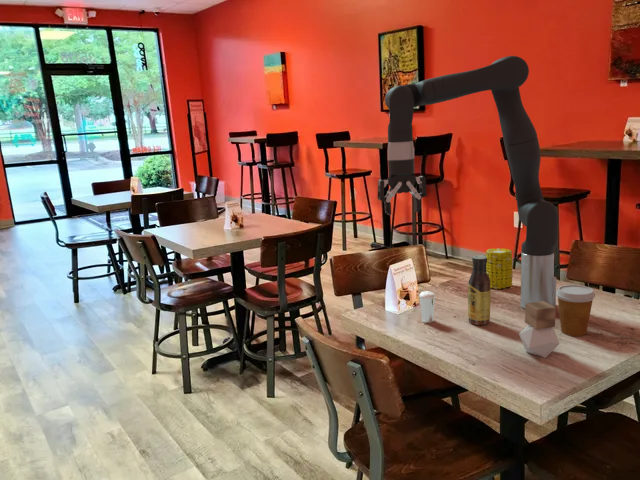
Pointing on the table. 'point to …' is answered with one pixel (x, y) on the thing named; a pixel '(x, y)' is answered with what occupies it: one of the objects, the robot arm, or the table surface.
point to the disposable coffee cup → (574, 308)
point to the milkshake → (427, 306)
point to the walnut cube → (540, 315)
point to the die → (539, 340)
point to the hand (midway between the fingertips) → (402, 213)
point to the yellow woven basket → (499, 268)
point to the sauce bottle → (479, 292)
